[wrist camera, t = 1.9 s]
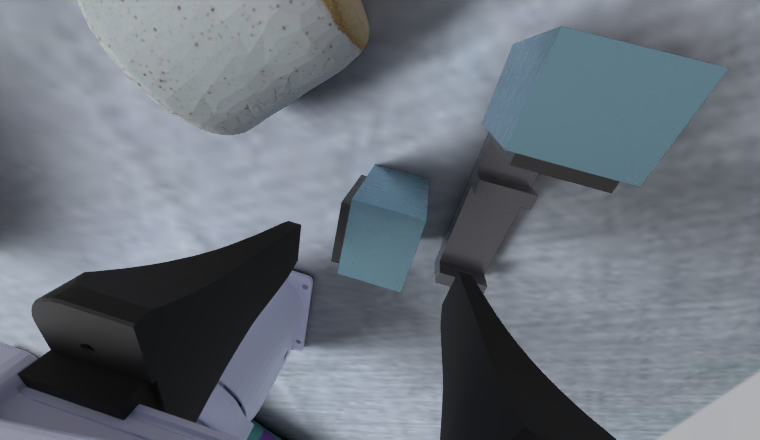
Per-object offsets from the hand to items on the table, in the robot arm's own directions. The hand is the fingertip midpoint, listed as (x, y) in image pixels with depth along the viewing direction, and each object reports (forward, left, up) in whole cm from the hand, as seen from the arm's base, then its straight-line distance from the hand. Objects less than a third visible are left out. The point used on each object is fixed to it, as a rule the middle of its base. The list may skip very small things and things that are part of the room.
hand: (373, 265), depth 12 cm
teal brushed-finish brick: (0, 0, -7) cm, 7 cm away
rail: (+3, -5, -7) cm, 9 cm away
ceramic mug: (+9, +9, -7) cm, 15 cm away
